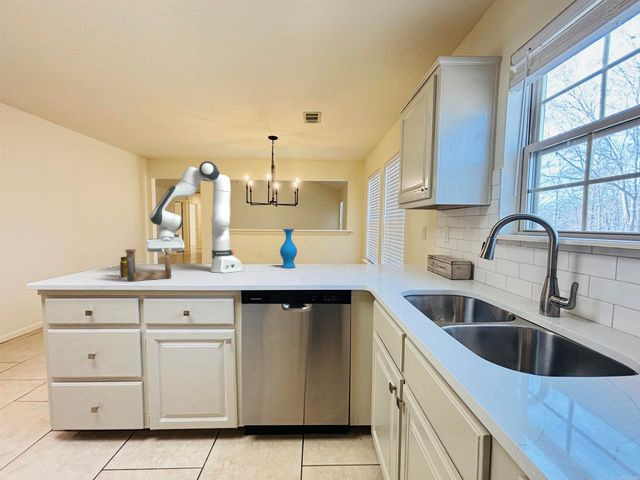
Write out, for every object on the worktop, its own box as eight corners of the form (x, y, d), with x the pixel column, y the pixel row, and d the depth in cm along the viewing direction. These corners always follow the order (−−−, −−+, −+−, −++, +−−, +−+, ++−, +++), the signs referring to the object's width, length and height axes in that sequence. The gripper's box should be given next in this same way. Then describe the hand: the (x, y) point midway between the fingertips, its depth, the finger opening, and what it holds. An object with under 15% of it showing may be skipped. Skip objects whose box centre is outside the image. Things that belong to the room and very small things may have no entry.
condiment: (133, 277, 167) (132, 257, 166) (115, 278, 162) (115, 258, 162) (133, 275, 173) (132, 255, 172) (116, 276, 168) (115, 256, 168)
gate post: (136, 279, 161) (135, 249, 160) (136, 280, 157) (135, 249, 156) (127, 279, 159) (126, 249, 158) (126, 281, 155) (125, 250, 154)
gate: (128, 281, 153) (127, 250, 152) (128, 280, 156) (127, 250, 155) (171, 277, 164) (170, 249, 163) (171, 276, 166) (170, 248, 165)
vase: (276, 267, 208) (276, 229, 206) (290, 265, 216) (290, 228, 214) (286, 269, 199) (286, 229, 197) (300, 267, 207) (300, 229, 205)
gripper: (146, 235, 172) (146, 253, 164) (183, 235, 182) (185, 251, 174) (146, 242, 176) (146, 259, 168) (183, 241, 186) (184, 258, 178)
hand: (166, 255), depth 171 cm, fingers closed
